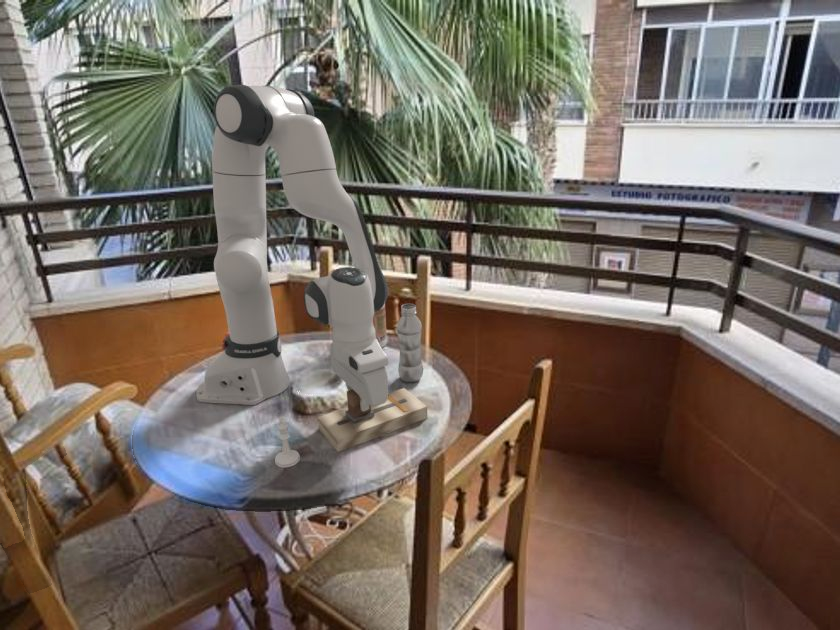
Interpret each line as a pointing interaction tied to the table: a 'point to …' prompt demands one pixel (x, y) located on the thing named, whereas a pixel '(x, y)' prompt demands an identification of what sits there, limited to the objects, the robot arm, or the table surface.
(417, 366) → the plastic bottle
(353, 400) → the slider
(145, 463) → the table surface
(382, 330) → the fruit juice
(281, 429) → the chess piece
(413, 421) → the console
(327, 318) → the robot arm
